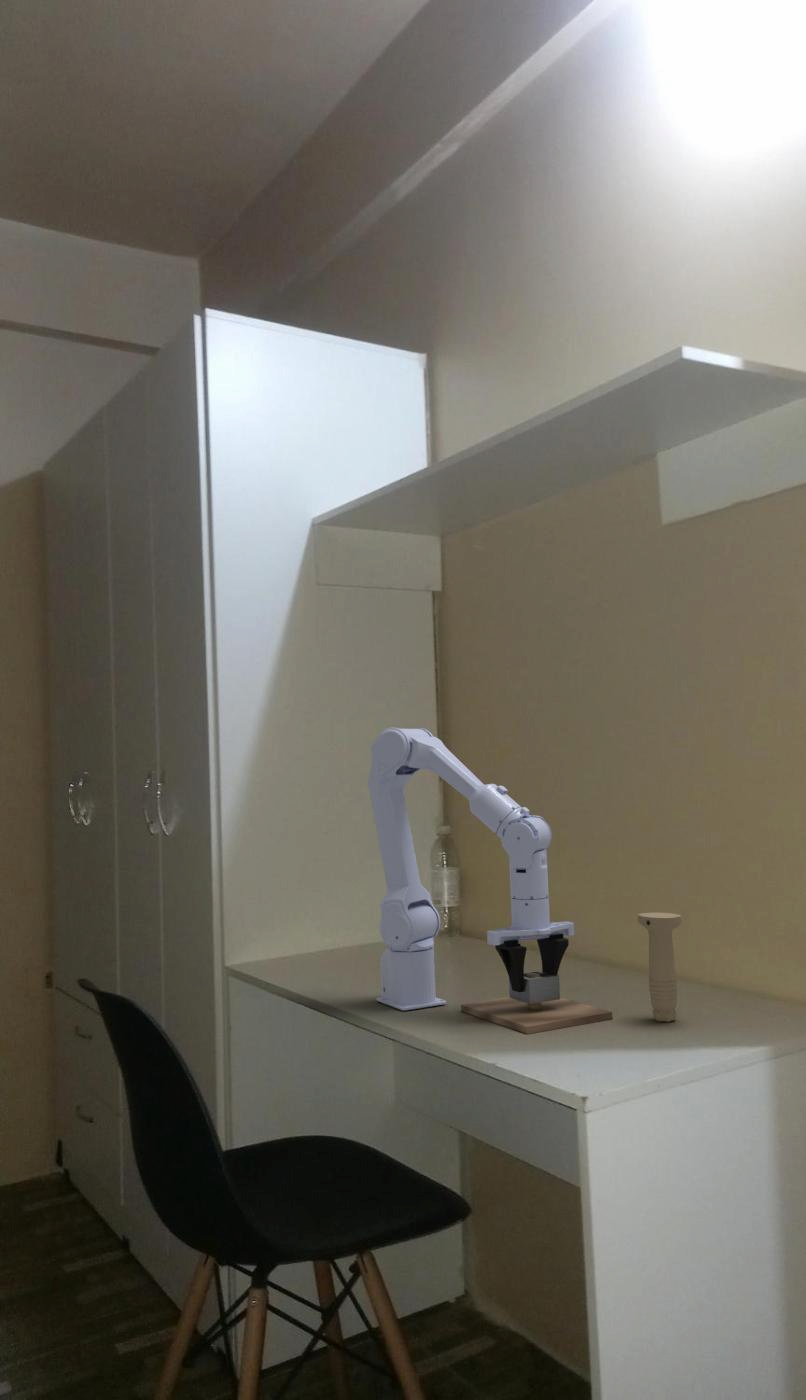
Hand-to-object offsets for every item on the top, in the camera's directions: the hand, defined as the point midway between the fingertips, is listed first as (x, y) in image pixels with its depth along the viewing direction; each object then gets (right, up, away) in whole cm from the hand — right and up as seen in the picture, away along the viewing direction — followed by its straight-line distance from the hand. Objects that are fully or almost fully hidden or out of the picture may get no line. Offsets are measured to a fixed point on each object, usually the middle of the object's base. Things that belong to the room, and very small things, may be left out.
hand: (533, 988), depth 168 cm
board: (0, -4, 0) cm, 4 cm away
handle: (+18, -3, -7) cm, 20 cm away
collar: (0, -2, 0) cm, 2 cm away
